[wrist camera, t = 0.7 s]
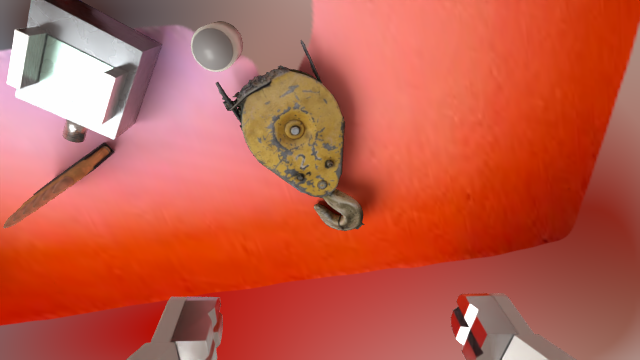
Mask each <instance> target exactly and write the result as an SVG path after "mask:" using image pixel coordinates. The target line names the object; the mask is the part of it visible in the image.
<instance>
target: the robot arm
mask: <svg viewBox="0 0 640 360" xmlns="http://www.w3.org/2000/svg"><path fill="white" fill-rule="evenodd" d="M456 302H457V304H458V307H457V308H456V309H454V310H453V312H452V315H451V327H452V331H453V333H454V336H455V338H456V339H457V340H458V341H459V342H460V343H462V344H463V348H462V353H463V355H464V357H465V359H466V360H576V359H575V358H573V357H572V356H570V355H569V354H567V353H566V352H564V351H563V350H561V349H560V348H558V347H557V346H555V345H554V344H552V343H551V342H549V341H548V340H546V339H545V338H543V337H542V336H541V335H539V334H534V333H533V332H532V330H531V329H530V328H529V326H528V325H527V323H526V322H525V320H524V319H523V318H522V316H521V315H520V313H519V312H518V311H517V309H516V308H515V306H514V305H513V304H512V302H511V301H510V299H509V298H508V297H507V296H506V295H505V294H503V293H499V294H487V293H486V294H461V295H459V296H458V299H457V301H456ZM220 306H221V303H220V298H219V297H171V298H170V299H169V301H168V302H167V305H166V307H165V309H164V312H163V315H162V317H161V319H160V322H159V324H158V326H157V329H156V331H155V333H154V336H153V338H152V341H151V343H145V344H144V345H143V346H142V347H140V348H139V349H138V350H137V351H136V352H135V353H133V354H132V355H131V356H130V357H129V358H128V359H126V360H217V354H216V348H217V347H218V346H219V345H220V341H221V336H222V327H223V320H222V314H221V313H220V312H219V311H220Z"/></svg>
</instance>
